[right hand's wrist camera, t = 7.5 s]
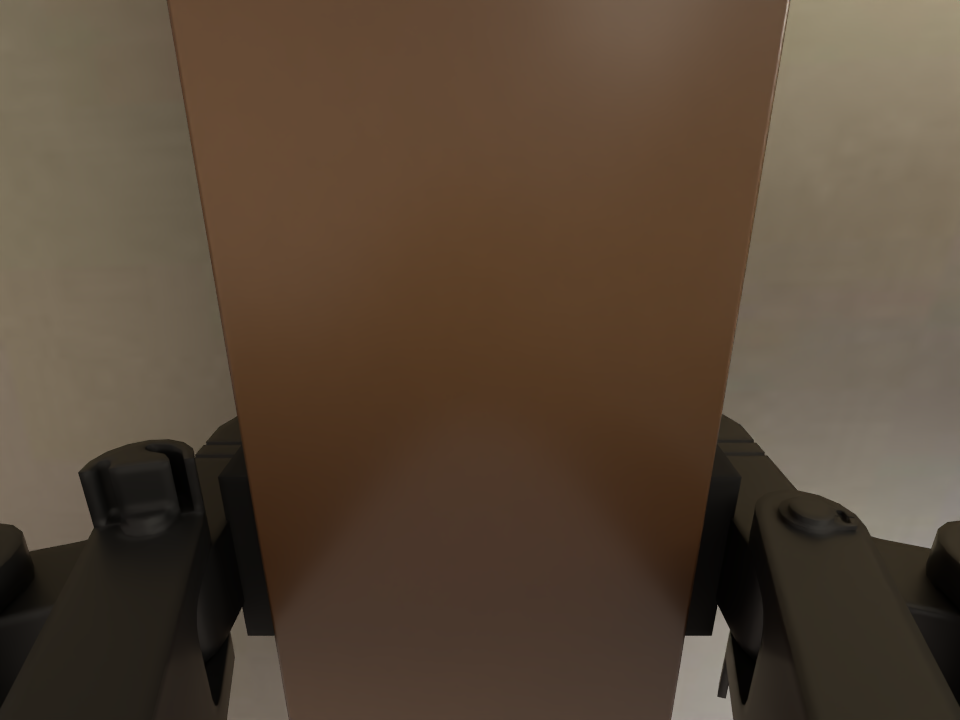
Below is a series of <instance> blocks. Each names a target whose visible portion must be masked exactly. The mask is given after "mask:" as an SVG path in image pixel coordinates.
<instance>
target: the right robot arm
mask: <svg viewBox="0 0 960 720" xmlns="http://www.w3.org/2000/svg"><path fill="white" fill-rule="evenodd" d="M78 474H79V477H80V480H81V484H82V487H83V491H84V494H85V498H86V501H87V505H88V508H89V511H90V515H91V518H92V522H93V525H94V529H93V531H92V533H91V535H90V537H89V539H88V540H84V541H80V542H76V543H71V544H66V545H60V546H55V547H50V548H45V549H40V550H35V551H29V550H28V547H27V544H26V541H25V538H24V535H23V533H22V531H20V530H19V529H18V528H16V527H15V526H14V525H8V524H0V720H227V714H228V706H229V698H230V691H231V683H232V675H233V667H234V659H235V656H234V649H233V643H232V638H231V633H230V630H231V628H232V626H233V624H234V622H235V620H236V618H237V616H238V614H239V612H240V610H241V608H242V607H243V613H244V618H245V623H246V629H247V634H248V636H275V634H274V628H273V622H272V617H271V611H270V605H269V599H268V593H267V587H266V581H265V575H264V569H263V564H262V558H261V552H260V546H259V540H258V534H257V528H256V522H255V516H254V511H253V505H252V499H251V493H250V487H249V481H248V475H247V469H246V463H245V458H244V452H243V446H242V440H241V434H240V428H239V422H238V416H237V417H235V418H234V419H232V420H230V421H228V422H227V423H225V424H223V425H222V426H220V427H219V428H218V429H217V430H216V431H215V432H214V434H213V435H212V436H211V437H210V438H209V439H208V441H207V442H206V445H203V446H202V448H201V449H200V450H199V451H198V452H197V453H196V455H195V456H194V451H193V448H191V447H190V446H189V445H187V444H186V443H184V442H180V441H175V440H169V439H167V440H147V441H142V442H137V443H132V444H127V445H125V446H122V447H119V448H116V449H113V450H110V451H108V452H106V453H104V454H102V455H100V456H98V457H97V458H95V459H93V460H91V461H90V462H88V463H87V464H86V465H85V466H84V467H83V468H82V469H81V470H80V471H79V472H78ZM717 605H718V606H719V608H720V610H721V612H722V614H723V616H724V618H725V620H726V622H727V624H728V626H729V628H730V633H729V638H728V643H727V648H726V653H725V658H724V663H723V668H722V673H721V677H720V682H719V689H718V695H717V697H721V698H726V694H727V690H728V686H729V689H730V697H731V705H732V712H733V720H960V521H953V522H947V523H946V524H944V525H943V526H941V527H940V528H939V529H938V531H937V534H936V537H935V540H934V542H933V545H932V548H931V549H929V548H924V547H919V546H914V545H909V544H903V543H898V542H893V541H888V540H883V539H878V538H874V537H871V536H870V534H869V532H868V530H867V528H866V526H865V525H864V524H863V523H862V522H861V520H860V519H859V518H858V517H857V516H856V515H855V514H854V513H852V512H851V511H849V510H848V509H846V508H845V507H843V506H842V505H840V504H839V503H836V502H834V501H831V500H829V499H827V498H824V497H822V496H819V495H815V494H811V493H806V492H802V491H798V490H797V489H796V488H795V487H794V486H793V485H792V483H791V482H790V481H789V480H788V479H787V478H786V477H785V475H784V474H783V473H782V472H781V471H780V470H779V469H778V467H777V466H776V465H775V464H774V463H773V462H772V460H771V459H770V458H769V457H768V456H765V452H764V451H763V450H762V449H761V448H760V447H759V445H758V444H757V443H754V440H753V439H752V437H751V436H750V435H749V434H748V433H747V432H746V430H745V429H744V428H743V427H742V426H741V425H740V424H738V423H737V422H735V421H733V420H731V419H730V418H728V417H726V416H725V415H723V414H722V415H721V421H720V427H719V433H718V439H717V445H716V451H715V457H714V463H713V469H712V475H711V481H710V487H709V493H708V499H707V505H706V511H705V517H704V523H703V529H702V535H701V541H700V548H699V554H698V560H697V566H696V572H695V578H694V584H693V590H692V596H691V602H690V608H689V614H688V620H687V626H686V632H685V636H712V631H713V626H714V621H715V616H716V610H717Z"/></svg>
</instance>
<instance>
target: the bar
mask: <svg viewBox="0 0 960 720" xmlns="http://www.w3.org/2000/svg"><path fill="white" fill-rule="evenodd" d="M167 4H168V10H169V16H170V22H171V28H172V34H173V40H174V45H175V51H176V57H177V63H178V69H179V75H180V81H181V87H182V93H183V98H184V104H185V110H186V116H187V122H188V128H189V134H190V140H191V146H192V151H193V157H194V163H195V169H196V175H197V181H198V187H199V193H200V199H201V204H202V210H203V216H204V222H205V228H206V234H207V240H208V246H209V251H210V257H211V263H212V269H213V275H214V281H215V287H216V293H217V299H218V305H219V310H220V316H221V322H222V328H223V334H224V340H225V346H226V352H227V357H228V363H229V369H230V375H231V381H232V387H233V393H234V399H235V405H236V410H237V416H238V422H239V428H240V434H241V440H242V446H243V452H244V458H245V463H246V469H247V475H248V481H249V487H250V493H251V499H252V505H253V511H254V516H255V522H256V528H257V534H258V540H259V546H260V552H261V558H262V564H263V569H264V575H265V581H266V587H267V593H268V599H269V605H270V611H271V617H272V622H273V628H274V634H275V640H276V646H277V652H278V658H279V664H280V670H281V675H282V681H283V687H284V693H285V699H286V705H287V711H288V717H289V720H671V716H672V710H673V704H674V698H675V692H676V686H677V680H678V674H679V668H680V662H681V656H682V650H683V644H684V638H685V632H686V626H687V620H688V614H689V608H690V602H691V596H692V590H693V584H694V578H695V572H696V566H697V560H698V554H699V548H700V541H701V535H702V529H703V523H704V517H705V511H706V505H707V499H708V493H709V487H710V481H711V475H712V469H713V463H714V457H715V451H716V445H717V439H718V433H719V427H720V421H721V415H722V409H723V403H724V397H725V391H726V385H727V379H728V373H729V367H730V361H731V355H732V349H733V343H734V337H735V331H736V324H737V318H738V312H739V306H740V300H741V294H742V288H743V282H744V276H745V270H746V264H747V258H748V252H749V246H750V240H751V234H752V228H753V222H754V216H755V210H756V204H757V198H758V192H759V186H760V180H761V174H762V168H763V162H764V156H765V150H766V144H767V138H768V132H769V126H770V120H771V114H772V107H773V101H774V95H775V89H776V83H777V77H778V71H779V65H780V59H781V53H782V47H783V41H784V35H785V29H786V23H787V17H788V11H789V5H790V0H167Z"/></svg>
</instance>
